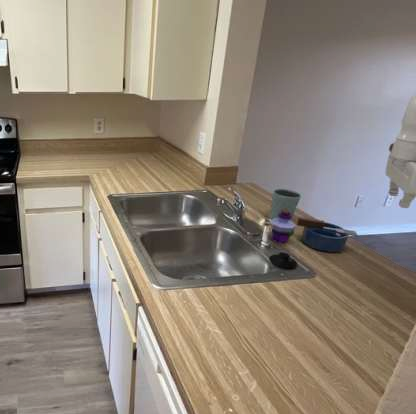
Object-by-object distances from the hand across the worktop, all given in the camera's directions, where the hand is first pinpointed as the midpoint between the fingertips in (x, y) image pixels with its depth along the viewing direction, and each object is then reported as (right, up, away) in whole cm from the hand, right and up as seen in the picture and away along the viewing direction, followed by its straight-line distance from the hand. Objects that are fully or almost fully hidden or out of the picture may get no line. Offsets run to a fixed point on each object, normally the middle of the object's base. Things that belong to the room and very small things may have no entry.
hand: (397, 201), depth 91 cm
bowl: (-1, -15, +30) cm, 33 cm away
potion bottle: (-15, -14, +33) cm, 39 cm away
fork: (-2, -9, +28) cm, 29 cm away
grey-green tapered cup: (-5, -7, +49) cm, 50 cm away
